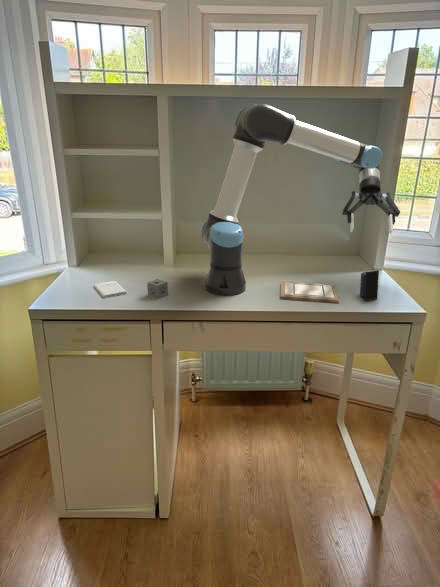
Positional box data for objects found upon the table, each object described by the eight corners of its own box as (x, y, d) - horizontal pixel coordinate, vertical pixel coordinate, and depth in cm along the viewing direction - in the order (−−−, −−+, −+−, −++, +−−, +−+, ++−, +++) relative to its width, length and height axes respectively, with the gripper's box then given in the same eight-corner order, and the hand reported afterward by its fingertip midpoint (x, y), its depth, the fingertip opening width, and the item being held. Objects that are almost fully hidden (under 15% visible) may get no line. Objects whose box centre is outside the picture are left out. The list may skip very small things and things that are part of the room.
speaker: (381, 300, 146) (383, 271, 143) (364, 301, 146) (366, 272, 143) (373, 294, 153) (375, 266, 150) (357, 294, 153) (359, 267, 150)
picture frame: (280, 298, 146) (280, 295, 146) (281, 283, 160) (281, 280, 160) (338, 303, 144) (339, 299, 143) (334, 287, 158) (334, 284, 157)
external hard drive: (104, 299, 145) (94, 288, 155) (126, 295, 149) (116, 284, 159) (103, 295, 145) (93, 283, 154) (126, 291, 148) (115, 280, 158)
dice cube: (147, 295, 148) (147, 282, 146) (158, 291, 151) (157, 278, 149) (157, 299, 145) (157, 285, 143) (168, 294, 149) (167, 281, 147)
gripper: (401, 189, 161) (404, 237, 153) (334, 188, 165) (334, 235, 157) (407, 177, 154) (410, 226, 146) (337, 176, 158) (337, 224, 150)
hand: (371, 231), depth 152 cm, fingers open, 13 cm apart
